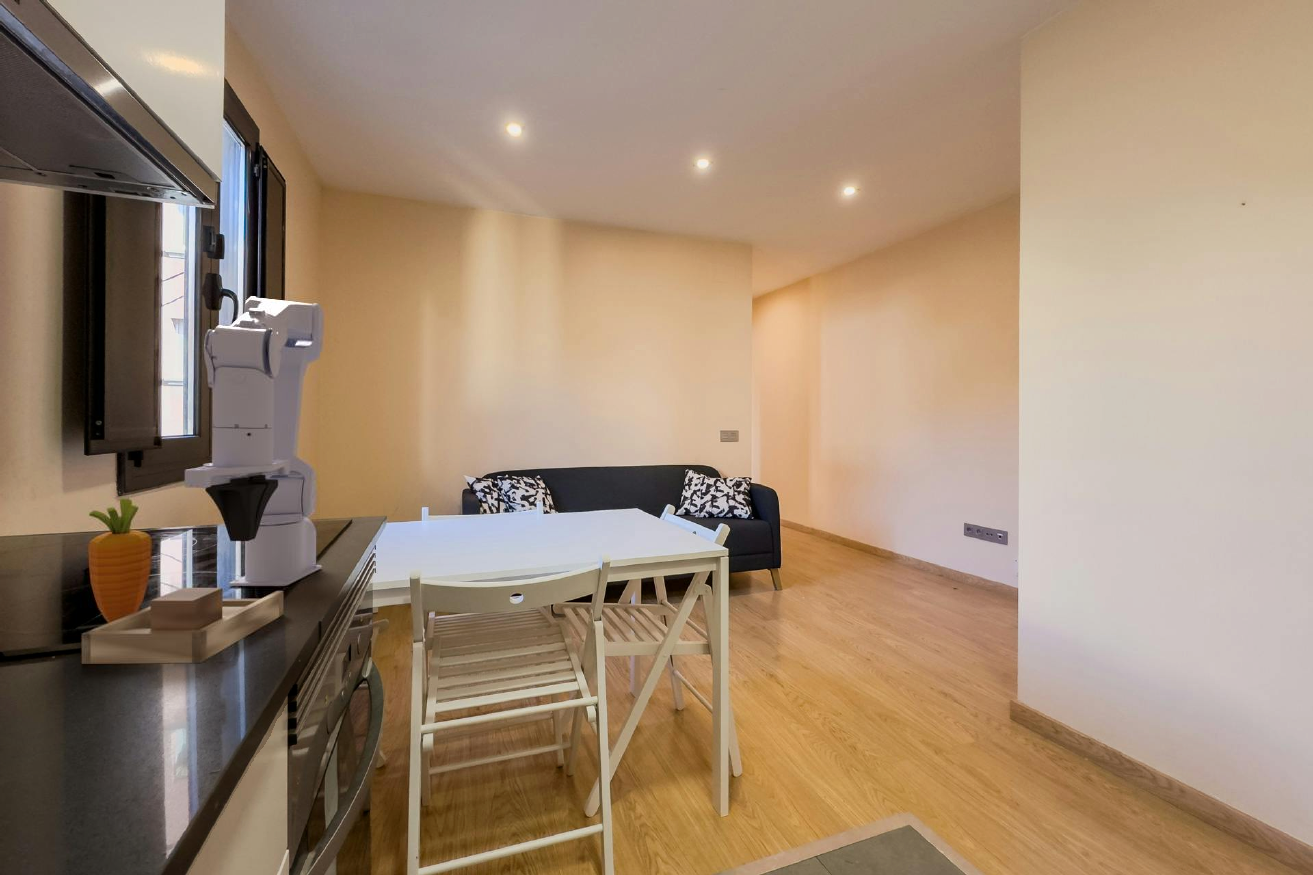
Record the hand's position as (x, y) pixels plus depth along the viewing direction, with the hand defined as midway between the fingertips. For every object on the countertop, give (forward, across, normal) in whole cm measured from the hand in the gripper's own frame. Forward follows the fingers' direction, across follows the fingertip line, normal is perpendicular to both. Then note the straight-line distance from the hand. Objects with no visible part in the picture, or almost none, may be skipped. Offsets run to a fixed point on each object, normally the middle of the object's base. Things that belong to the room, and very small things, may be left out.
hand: (242, 539), depth 62 cm
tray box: (+10, +4, -2) cm, 11 cm away
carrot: (+10, +3, -11) cm, 15 cm away
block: (+8, +8, 0) cm, 11 cm away
